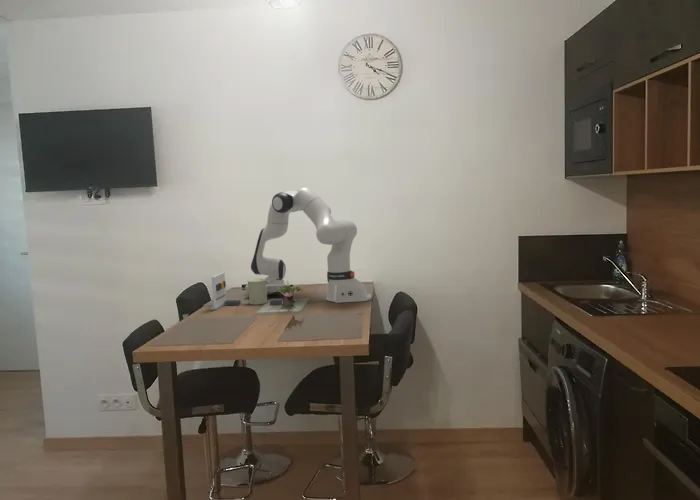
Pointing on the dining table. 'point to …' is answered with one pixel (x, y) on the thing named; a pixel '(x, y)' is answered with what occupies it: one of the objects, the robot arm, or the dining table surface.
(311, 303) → the dining table surface
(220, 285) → the panel
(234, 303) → the cover
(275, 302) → the cover
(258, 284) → the can
